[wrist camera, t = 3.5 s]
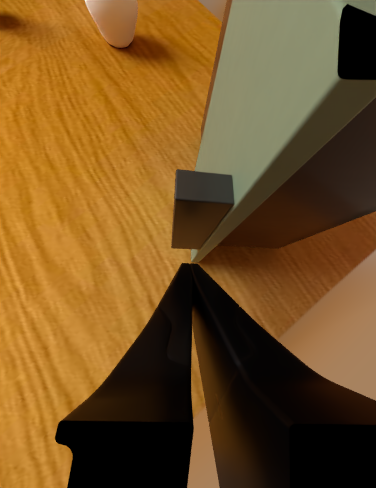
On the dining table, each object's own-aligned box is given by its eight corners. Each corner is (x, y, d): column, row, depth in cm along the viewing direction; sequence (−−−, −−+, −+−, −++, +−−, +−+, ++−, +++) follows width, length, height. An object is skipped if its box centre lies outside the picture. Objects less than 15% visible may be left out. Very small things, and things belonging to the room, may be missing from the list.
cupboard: (278, 248, 17) (1034, -40, 2) (186, 244, 16) (452, -437, 1) (260, 140, 22) (462, -187, 7) (188, 131, 21) (241, -289, 6)
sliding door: (198, 262, 15) (422, 58, 2) (170, 261, 15) (188, 4, 1) (198, 185, 18) (288, -129, 4) (174, 183, 17) (192, -162, 4)
